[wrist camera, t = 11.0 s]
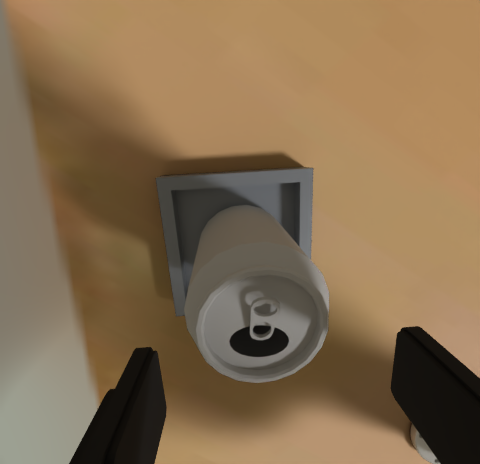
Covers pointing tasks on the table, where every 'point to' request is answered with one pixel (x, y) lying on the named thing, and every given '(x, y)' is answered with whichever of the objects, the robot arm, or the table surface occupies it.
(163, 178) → the tray
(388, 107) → the table surface
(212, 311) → the can
